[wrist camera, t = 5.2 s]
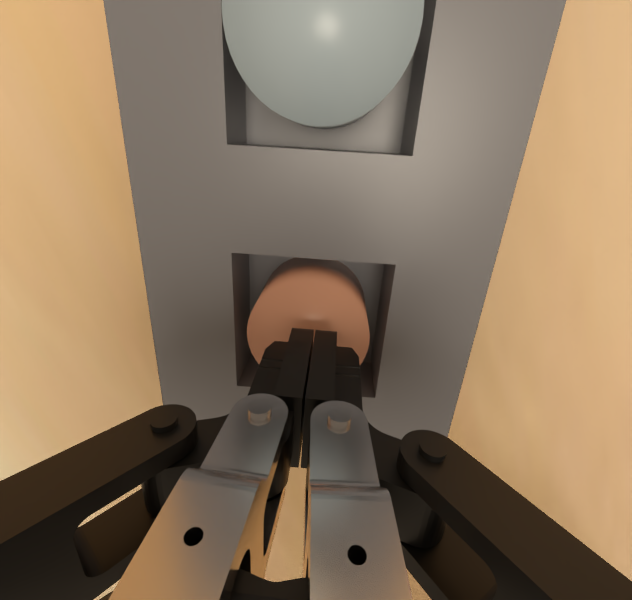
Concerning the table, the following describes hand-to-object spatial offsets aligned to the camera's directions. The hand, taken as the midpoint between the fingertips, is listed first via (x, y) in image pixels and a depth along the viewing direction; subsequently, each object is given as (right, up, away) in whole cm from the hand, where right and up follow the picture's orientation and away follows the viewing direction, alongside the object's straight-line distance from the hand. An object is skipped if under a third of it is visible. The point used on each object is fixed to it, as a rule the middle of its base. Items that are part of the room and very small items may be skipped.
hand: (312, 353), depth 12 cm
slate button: (0, +9, -1) cm, 9 cm away
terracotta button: (0, +2, +4) cm, 4 cm away
